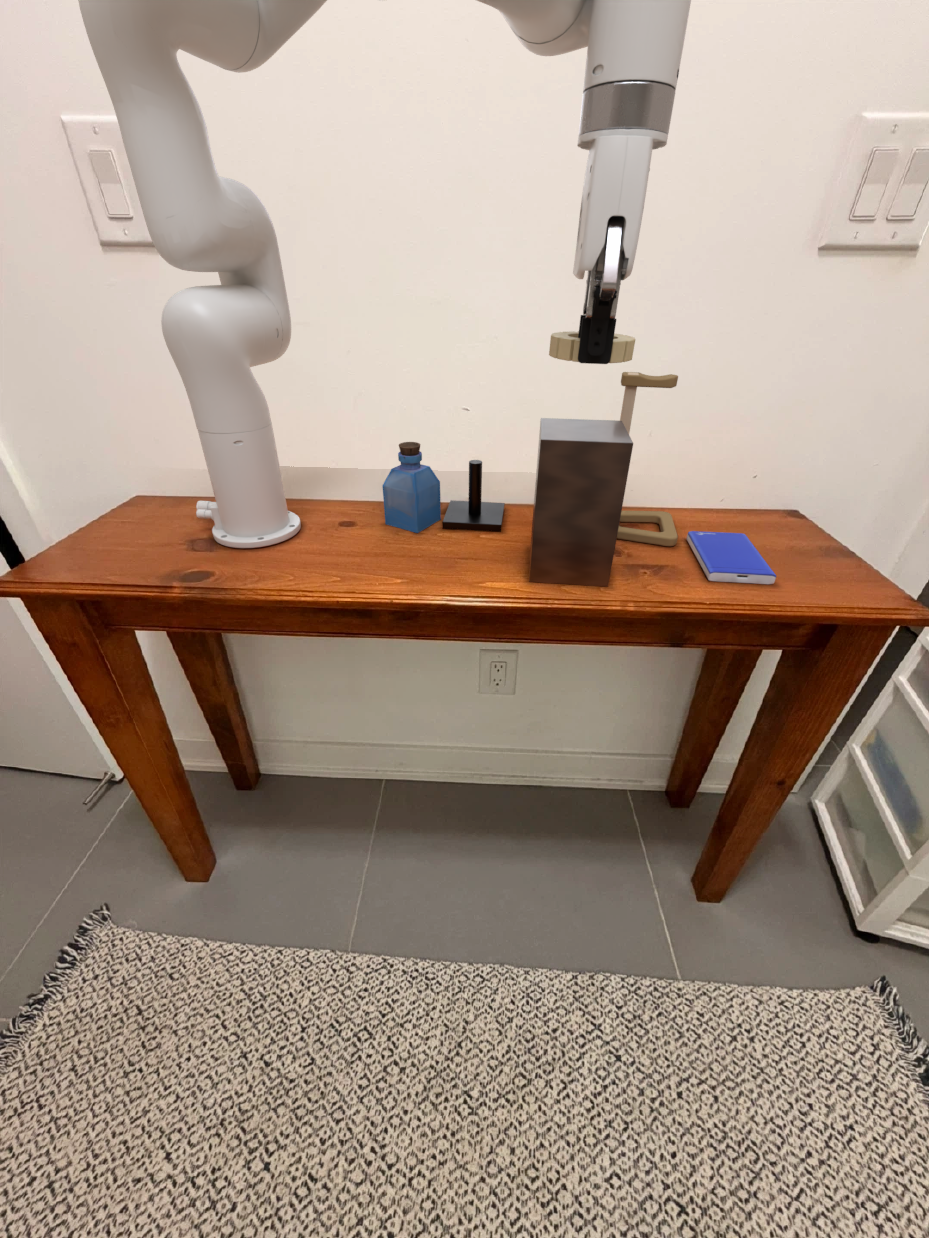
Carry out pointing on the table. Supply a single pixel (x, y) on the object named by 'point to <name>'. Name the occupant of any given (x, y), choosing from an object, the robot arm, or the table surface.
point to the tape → (568, 343)
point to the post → (474, 507)
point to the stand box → (578, 500)
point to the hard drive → (729, 558)
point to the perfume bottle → (411, 492)
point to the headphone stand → (631, 383)
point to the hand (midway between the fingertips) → (592, 359)
